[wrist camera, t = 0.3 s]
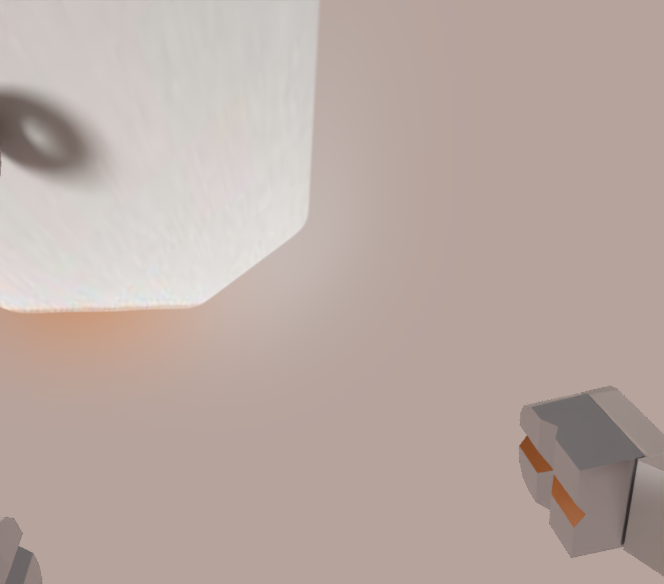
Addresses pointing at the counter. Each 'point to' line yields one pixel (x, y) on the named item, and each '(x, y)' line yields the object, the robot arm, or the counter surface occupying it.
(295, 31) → the counter surface
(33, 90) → the counter surface
